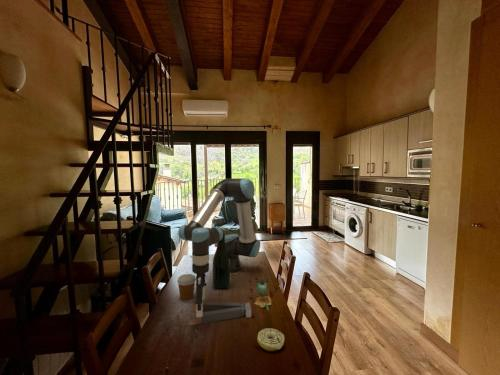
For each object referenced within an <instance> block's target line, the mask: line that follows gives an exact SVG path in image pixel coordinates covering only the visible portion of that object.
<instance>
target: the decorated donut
mask: <svg viewBox="0 0 500 375" xmlns="http://www.w3.org/2000/svg"><path fill="white" fill-rule="evenodd" d="M256 341H257V343H258V346H259V347H260V348H262V349H263V350H265V351H268V352H276V351H279V350H280V349H282V348H283V346H284V345H285V335H284V333H282V331H279V329H276V328H273V327H269V328H268V327H266V328H263V329H261V330H260V331H259V332H258V333H257V340H256Z"/></svg>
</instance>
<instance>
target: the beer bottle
mask: <svg viewBox="0 0 500 375" xmlns="http://www.w3.org/2000/svg"><path fill="white" fill-rule="evenodd" d="M222 232H223V237H222V239H221V240H220V241H219V242H217V243H216V244H217V245H216V250H215V251H214V252H215V253H214V255H213V257H212V274H211V276H212V288H213V289H214V290H216V291H217V290H218V291H219V290H220V291H225V290H228V289H230V287H231V272H230V259H229V255H228V253H227V250H226V247H225V236H226V233H225V232H224V231H223V230H222Z"/></svg>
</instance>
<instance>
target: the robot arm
mask: <svg viewBox="0 0 500 375" xmlns="http://www.w3.org/2000/svg"><path fill="white" fill-rule="evenodd" d="M255 191H256V189H255V185H254V182H253V181H252V180H251V179H249V178H225V179H224V178H223V179H222V180H220V181H219V182H217V183H215V184H214V185H213V187H212V188H211V189H210V191H209V195H208V196H207V198H206V199H205V200H204V202H203V203H202V205H201V206H200V207H199V209H198V210H197V212H195V214H194V216H193V217H192V218H191V220H190V221H189V222H188V224H183V225H181V226H180V227H179V229H178V231H177V232H178V233H177V234H178V238H179V239H180V240H183V241H185V242H187V241H188V242H191V250H192V252H191V256H190V258H191V259H192V260H191V261H192V262H191V263H192V264H191V266H192V267H191V271H192V273H193V274H196V276H195V278H196V281H195V286H196V287H195V289H196V290H195V301H194V303H196V312H195V313H196V317H203V302H204V301H205V300H206V286H207V282H206V273H208V272H209V270H210V263H209V262H210V247H211V246H213V245H215V244H217V242H219V241H220V240H221V239H222V237H223V232H222V231H223V230H222V228H220V227H219V226H213V227H205V226H206V224H207V223H208V221H209V219H210V218H211V216H213V213H214V212H215V210H216V209H217V207H218V206H219V204H220V203H221V202H222V201H224V200H225V199H226V198H232V200H233V203H235V204H236V212H237V218H238V225H239V233H240V235H239V234H237V233H232V234H231V233H229V234H225V247H226V250H227V253H228V255H229V259H230V273H237V272H239V271H241V269H242V263H241V259H240V256H242V257H246V258H248V257H249V258H256V257H257V256H258V255H259V252H260V250H261V240H260V239H258V238H257V235H256V234H255V233H254V224H253V216H252V208H251V207H252V206H251V202H252V200H253V198H254V197H255Z"/></svg>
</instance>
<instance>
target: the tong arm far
mask: <svg viewBox="0 0 500 375" xmlns="http://www.w3.org/2000/svg"><path fill="white" fill-rule="evenodd" d="M194 302H195V301H192V303H191V312H195V313H196V303H194ZM241 306H244V307H245V302H244V303H243V302H220V301H203V312H208V311H214V310H221V309H228V308H234V307H241Z"/></svg>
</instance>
